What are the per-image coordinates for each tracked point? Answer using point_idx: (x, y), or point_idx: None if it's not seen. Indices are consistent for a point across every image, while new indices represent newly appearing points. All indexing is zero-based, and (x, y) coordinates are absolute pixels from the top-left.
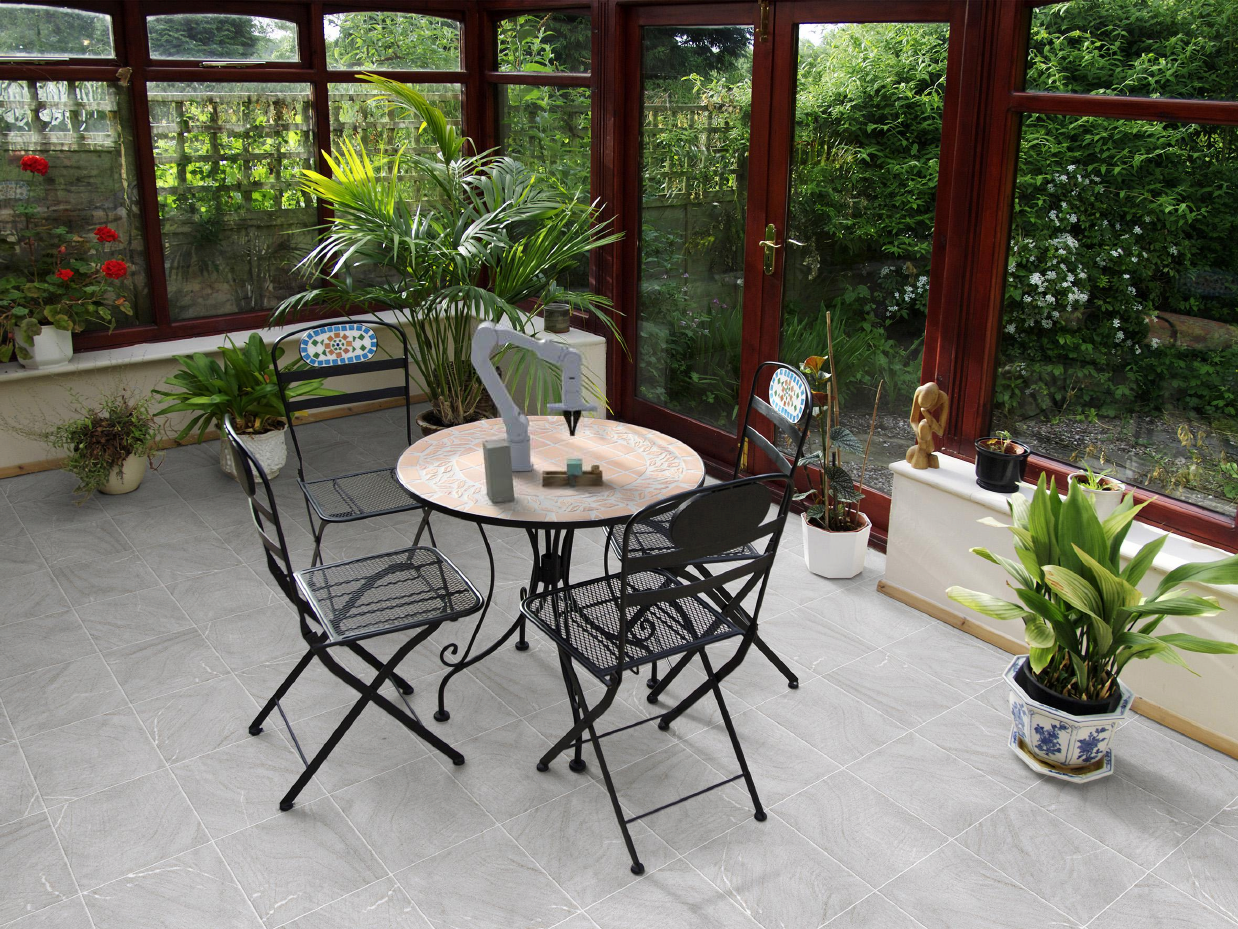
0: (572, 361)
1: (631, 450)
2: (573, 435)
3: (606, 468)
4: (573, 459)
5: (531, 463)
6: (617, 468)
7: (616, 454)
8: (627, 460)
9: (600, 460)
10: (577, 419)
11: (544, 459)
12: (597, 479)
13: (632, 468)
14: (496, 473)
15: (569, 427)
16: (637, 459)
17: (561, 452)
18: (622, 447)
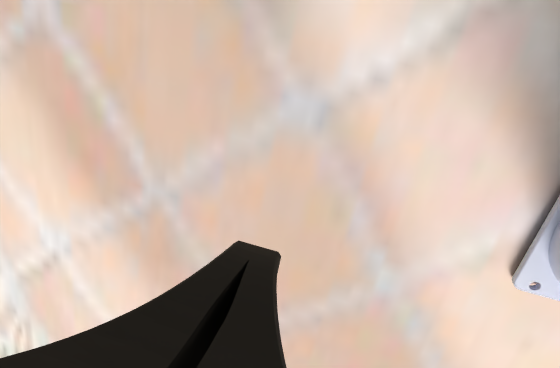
0: None
1: (36, 291)
2: (245, 245)
3: (133, 92)
4: None
5: (534, 257)
6: (80, 78)
7: (89, 268)
8: (42, 183)
9: (156, 218)
10: (76, 353)
11: (418, 311)
12: None
13: (10, 60)
14: None
15: (263, 309)
16: (3, 184)
17: (311, 363)
18: (69, 330)
